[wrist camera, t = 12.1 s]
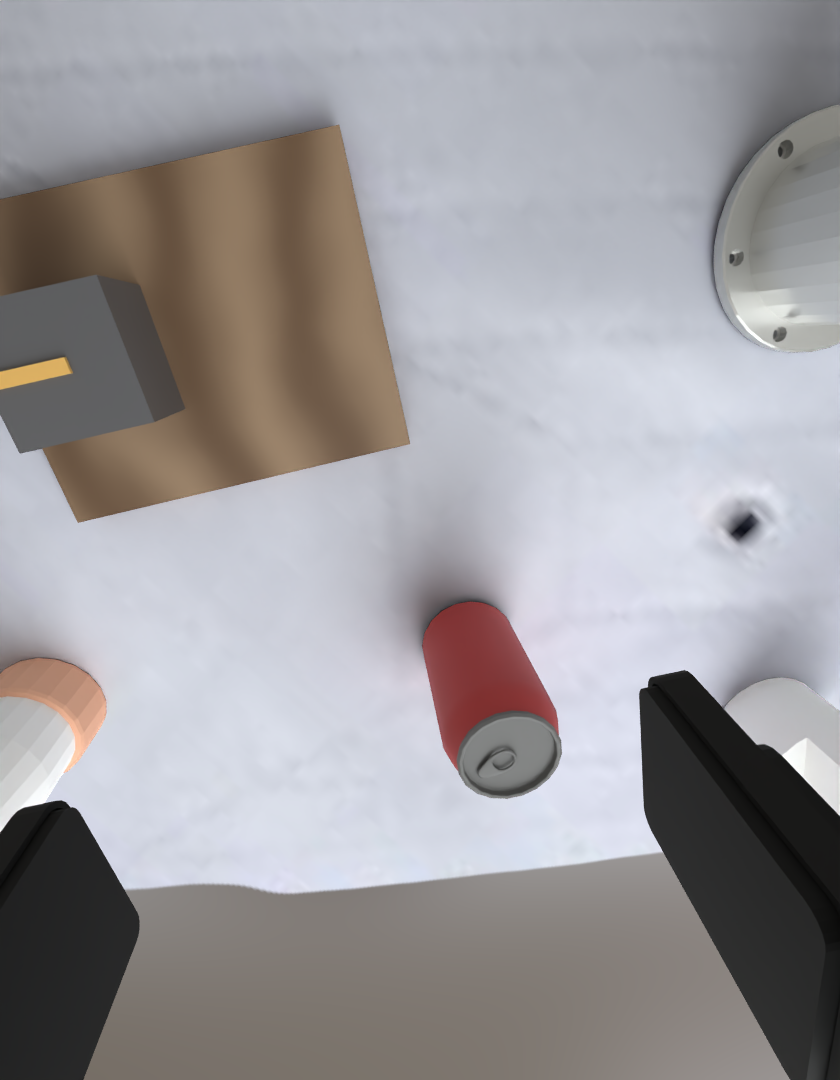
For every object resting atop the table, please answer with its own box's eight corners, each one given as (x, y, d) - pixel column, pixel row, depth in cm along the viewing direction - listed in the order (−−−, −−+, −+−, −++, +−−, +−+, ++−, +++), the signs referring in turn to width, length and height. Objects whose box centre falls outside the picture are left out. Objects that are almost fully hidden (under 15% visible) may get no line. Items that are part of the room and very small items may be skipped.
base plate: (339, 135, 28) (339, 124, 26) (407, 439, 34) (410, 443, 32) (-48, 220, 27) (-70, 214, 26) (89, 514, 33) (77, 522, 32)
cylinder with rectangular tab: (812, 751, 47) (954, 880, 36) (713, 776, 47) (825, 913, 36) (820, 666, 44) (979, 779, 33) (713, 691, 43) (837, 814, 32)
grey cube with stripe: (139, 284, 28) (94, 274, 23) (185, 408, 30) (153, 422, 25) (15, 312, 28) (-56, 308, 23) (71, 435, 30) (17, 454, 25)
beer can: (402, 632, 38) (421, 754, 27) (479, 580, 38) (531, 682, 26) (454, 692, 41) (492, 826, 30) (527, 643, 40) (594, 763, 29)
